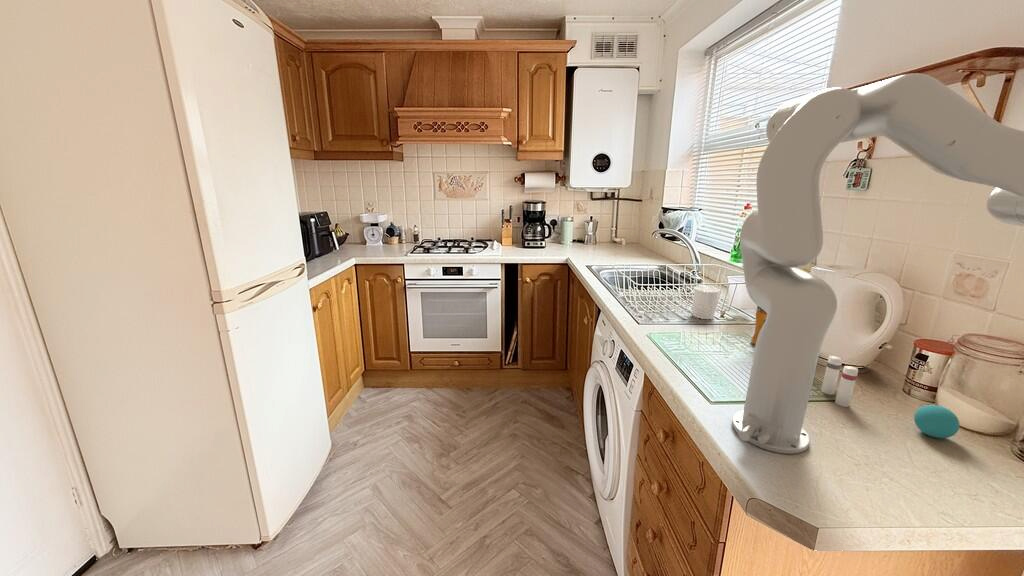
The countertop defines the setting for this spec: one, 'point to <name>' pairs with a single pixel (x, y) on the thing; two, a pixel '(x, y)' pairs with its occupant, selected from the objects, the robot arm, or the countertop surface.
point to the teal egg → (936, 421)
